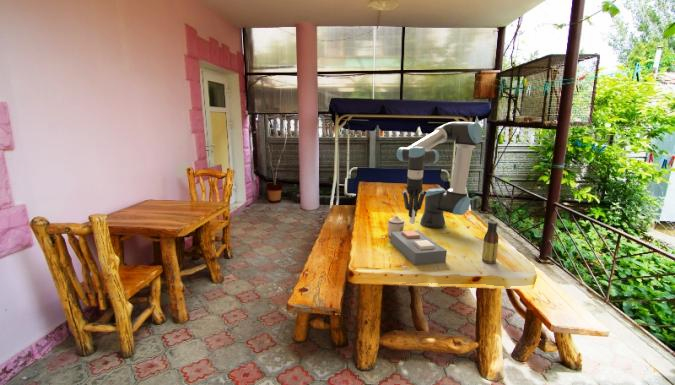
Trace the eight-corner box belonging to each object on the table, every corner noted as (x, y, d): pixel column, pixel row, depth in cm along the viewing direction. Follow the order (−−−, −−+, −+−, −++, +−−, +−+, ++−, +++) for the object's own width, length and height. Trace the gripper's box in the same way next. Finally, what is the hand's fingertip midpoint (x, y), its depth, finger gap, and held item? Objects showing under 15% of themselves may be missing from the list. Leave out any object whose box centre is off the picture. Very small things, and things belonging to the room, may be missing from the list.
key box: (417, 240, 177) (418, 230, 175) (445, 262, 150) (446, 250, 149) (390, 242, 173) (391, 232, 171) (414, 265, 146) (415, 253, 145)
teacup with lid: (401, 239, 178) (403, 219, 175) (385, 236, 181) (386, 217, 179) (405, 232, 189) (406, 213, 186) (390, 230, 192) (391, 211, 190)
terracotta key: (413, 237, 171) (413, 230, 171) (419, 242, 165) (420, 234, 164) (401, 238, 170) (401, 231, 169) (407, 243, 163) (407, 235, 162)
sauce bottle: (491, 258, 155) (497, 219, 151) (498, 264, 149) (504, 223, 145) (478, 258, 155) (483, 219, 151) (484, 264, 149) (490, 223, 145)
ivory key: (426, 247, 158) (427, 239, 157) (433, 253, 152) (434, 245, 151) (413, 248, 157) (413, 240, 156) (420, 254, 150) (420, 246, 149)
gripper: (406, 179, 155) (403, 226, 160) (430, 178, 158) (427, 224, 163) (399, 177, 162) (397, 221, 167) (423, 176, 165) (420, 219, 170)
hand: (411, 222), depth 165 cm, fingers closed
